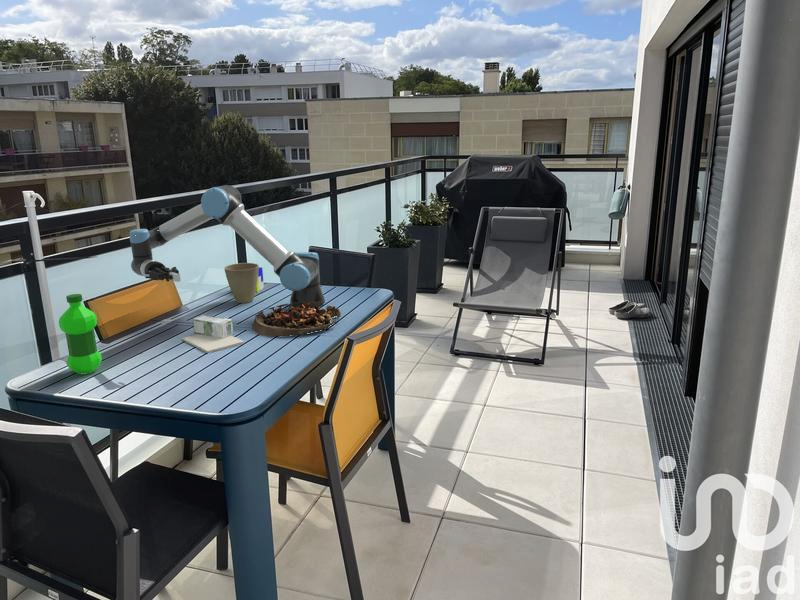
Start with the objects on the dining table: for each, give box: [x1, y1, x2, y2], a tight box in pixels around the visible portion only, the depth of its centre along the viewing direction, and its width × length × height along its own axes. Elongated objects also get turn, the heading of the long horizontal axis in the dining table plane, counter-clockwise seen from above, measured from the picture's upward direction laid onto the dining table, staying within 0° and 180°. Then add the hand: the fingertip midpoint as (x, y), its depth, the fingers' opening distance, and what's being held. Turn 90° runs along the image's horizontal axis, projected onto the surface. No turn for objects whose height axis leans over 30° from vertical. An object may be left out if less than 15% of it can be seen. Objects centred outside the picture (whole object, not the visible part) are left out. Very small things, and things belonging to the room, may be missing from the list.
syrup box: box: [192, 314, 234, 338], centre depth 226 cm, size 6×6×14 cm
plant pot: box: [223, 262, 260, 304], centre depth 272 cm, size 15×15×16 cm
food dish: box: [251, 302, 342, 337], centre depth 239 cm, size 35×33×8 cm
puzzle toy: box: [255, 266, 265, 293], centre depth 293 cm, size 10×10×10 cm
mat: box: [181, 333, 245, 354], centre depth 220 cm, size 20×14×1 cm
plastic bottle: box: [58, 293, 103, 375], centre depth 191 cm, size 10×10×25 cm
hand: (178, 278), depth 231 cm, fingers closed
